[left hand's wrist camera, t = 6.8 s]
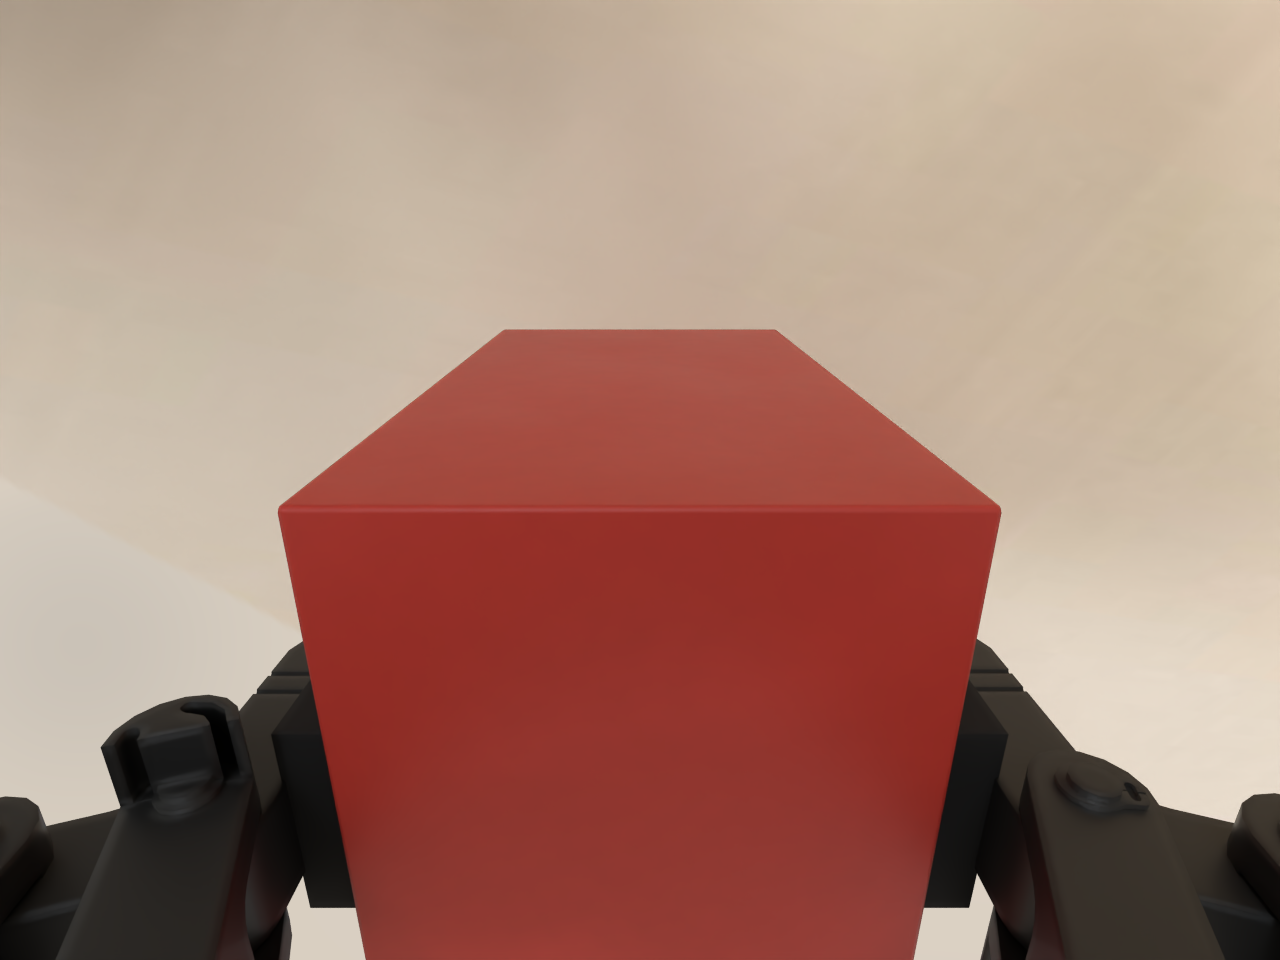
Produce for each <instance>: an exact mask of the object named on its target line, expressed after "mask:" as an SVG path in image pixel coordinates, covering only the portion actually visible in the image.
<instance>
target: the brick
mask: <svg viewBox="0 0 1280 960" xmlns="http://www.w3.org/2000/svg"><path fill="white" fill-rule="evenodd" d="M278 516H279V521H280V527H281V532H282V537H283V542H284V547H285V552H286V557H287V562H288V567H289V572H290V577H291V582H292V587H293V592H294V598H295V603H296V608H297V613H298V618H299V623H300V628H301V633H302V638H303V643H304V648H305V653H306V658H307V663H308V669H309V674H310V679H311V684H312V689H313V694H314V699H315V704H316V709H317V714H318V719H319V724H320V729H321V734H322V740H323V745H324V750H325V755H326V760H327V765H328V770H329V775H330V780H331V785H332V790H333V795H334V800H335V805H336V811H337V816H338V821H339V826H340V831H341V836H342V841H343V846H344V851H345V856H346V861H347V866H348V871H349V876H350V882H351V887H352V892H353V897H354V902H355V907H356V912H357V917H358V922H359V927H360V932H361V937H362V942H363V947H364V953H365V958H366V960H913V959H914V954H915V949H916V944H917V939H918V934H919V929H920V924H921V919H922V914H923V909H924V904H925V898H926V893H927V888H928V883H929V878H930V873H931V868H932V863H933V858H934V853H935V848H936V843H937V837H938V832H939V827H940V822H941V817H942V812H943V807H944V802H945V797H946V792H947V787H948V782H949V776H950V771H951V766H952V761H953V756H954V751H955V746H956V741H957V736H958V731H959V726H960V721H961V715H962V710H963V705H964V700H965V695H966V690H967V685H968V680H969V675H970V670H971V665H972V660H973V654H974V649H975V644H976V639H977V634H978V629H979V624H980V619H981V614H982V609H983V604H984V599H985V593H986V588H987V583H988V578H989V573H990V568H991V563H992V558H993V553H994V548H995V543H996V538H997V532H998V527H999V522H1000V517H1001V508H1000V506H999V505H997V504H996V503H995V502H994V501H992V500H991V499H990V498H989V497H987V496H986V495H985V494H983V493H982V492H981V491H980V490H978V489H977V488H976V487H975V486H973V485H972V484H971V483H970V482H968V481H967V480H966V479H964V478H963V477H962V476H961V475H959V474H958V473H957V472H956V471H954V470H953V469H952V468H950V467H949V466H948V465H947V464H945V463H944V462H943V461H942V460H940V459H939V458H938V457H936V456H935V455H934V454H933V453H931V452H930V451H929V450H928V449H926V448H925V447H924V446H923V445H921V444H920V443H919V442H917V441H916V440H915V439H914V438H912V437H911V436H910V435H909V434H907V433H906V432H905V431H903V430H902V429H901V428H900V427H898V426H897V425H896V424H895V423H893V422H892V421H891V420H889V419H888V418H887V417H886V416H884V415H883V414H882V413H881V412H879V411H878V410H877V409H875V408H874V407H873V406H872V405H870V404H869V403H868V402H867V401H865V400H864V399H863V398H862V397H860V396H859V395H858V394H856V393H855V392H854V391H853V390H851V389H850V388H849V387H848V386H846V385H845V384H844V383H842V382H841V381H840V380H839V379H837V378H836V377H835V376H834V375H832V374H831V373H830V372H828V371H827V370H826V369H825V368H823V367H822V366H821V365H820V364H818V363H817V362H816V361H814V360H813V359H812V358H811V357H809V356H808V355H807V354H806V353H804V352H803V351H802V350H801V349H799V348H798V347H797V346H795V345H794V344H793V343H792V342H790V341H789V340H788V339H787V338H785V337H784V336H783V335H781V334H780V333H779V332H778V331H776V330H503V331H502V332H501V333H499V334H498V335H497V336H496V337H494V338H493V339H492V340H490V341H489V342H488V343H487V344H485V345H484V346H483V347H482V348H480V349H479V350H478V351H476V352H475V353H474V354H473V355H471V356H470V357H469V358H468V359H466V360H465V361H464V362H462V363H461V364H460V365H459V366H457V367H456V368H455V369H454V370H452V371H451V372H450V373H448V374H447V375H446V376H445V377H443V378H442V379H441V380H440V381H438V382H437V383H436V384H434V385H433V386H432V387H431V388H429V389H428V390H427V391H426V392H424V393H423V394H422V395H420V396H419V397H418V398H417V399H415V400H414V401H413V402H412V403H410V404H409V405H408V406H406V407H405V408H404V409H403V410H401V411H400V412H399V413H398V414H396V415H395V416H394V417H392V418H391V419H390V420H389V421H387V422H386V423H385V424H384V425H382V426H381V427H380V428H378V429H377V430H376V431H375V432H373V433H372V434H371V435H370V436H368V437H367V438H366V439H364V440H363V441H362V442H361V443H359V444H358V445H357V446H356V447H354V448H353V449H352V450H350V451H349V452H348V453H347V454H345V455H344V456H343V457H342V458H340V459H339V460H338V461H336V462H335V463H334V464H333V465H331V466H330V467H329V468H328V469H326V470H325V471H324V472H322V473H321V474H320V475H319V476H317V477H316V478H315V479H314V480H312V481H311V482H310V483H308V484H307V485H306V486H305V487H303V488H302V489H301V490H300V491H298V492H297V493H296V494H294V495H293V496H292V497H291V498H289V499H288V500H287V501H286V502H284V503H283V504H282V505H280V506H279V509H278Z"/></svg>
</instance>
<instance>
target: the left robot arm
mask: <svg viewBox="0 0 1280 960" xmlns="http://www.w3.org/2000/svg"><path fill="white" fill-rule="evenodd" d="M101 750H102V753H103V756H104V759H105V762H106V765H107V768H108V771H109V774H110V777H111V780H112V783H113V786H114V789H115V792H116V795H117V798H118V801H119V803H120V806H121V807H120V809H117V810H113V811H110V812H106V813H102V814H98V815H93V816H89V817H85V818H80V819H76V820H71V821H67V822H63V823H58V824H54V825H50V826H46V825H45V822H44V820H43V817H42V814H41V812H40V809H39V807H38V806H37V805H36V804H34V803H33V802H32V801H30V800H29V799H27V798H19V797H1V798H0V960H289V958H290V949H291V940H292V932H291V925H290V919H289V915H288V911H287V906H288V904H289V902H290V900H291V898H292V896H293V894H294V892H295V890H296V888H297V886H298V884H299V882H300V880H301V878H302V876H303V877H304V882H305V886H306V891H307V895H308V899H309V904H310V907H311V908H356V907H355V902H354V897H353V892H352V887H351V882H350V876H349V871H348V866H347V861H346V856H345V851H344V846H343V841H342V836H341V831H340V826H339V821H338V816H337V811H336V805H335V800H334V795H333V790H332V785H331V780H330V775H329V770H328V765H327V760H326V755H325V750H324V745H323V740H322V734H321V729H320V724H319V719H318V714H317V709H316V704H315V699H314V694H313V689H312V684H311V679H310V674H309V669H308V663H307V658H306V653H305V648H304V643H303V642H301V643H300V644H298V645H297V646H295V647H293V648H292V649H290V650H289V651H288V652H287V654H286V655H285V656H284V657H283V658H282V660H281V661H280V662H279V663H278V665H277V666H276V667H275V668H274V669H273V671H272V674H271V676H268V677H267V678H266V679H265V680H264V682H263V683H262V684H261V685H260V686H259V688H258V689H257V694H253V695H252V696H251V698H250V699H249V700H248V701H247V702H246V704H245V705H244V706H243V707H242V708H241V710H240V711H239V710H238V707H237V706H236V705H235V704H234V703H233V702H231V701H230V700H229V699H228V698H224V697H218V696H213V695H201V696H191V697H184V698H180V699H177V700H173V701H170V702H166V703H162V704H159V705H157V706H155V707H153V708H151V709H149V710H147V711H144V712H142V713H140V714H138V715H136V716H134V717H133V718H131V719H130V720H129V721H127V722H126V723H124V724H123V725H122V726H120V727H119V728H117V729H116V730H115V731H113V733H112V734H111V735H110V736H109V738H108V739H107V740H106V741H105V743H104V744H103V745H102V746H101ZM977 874H978V876H979V878H980V880H981V882H982V883H983V885H984V887H985V889H986V891H987V893H988V895H989V897H990V899H991V901H992V903H993V905H994V906H993V911H992V915H991V919H990V923H989V927H988V931H987V935H986V939H985V943H984V947H983V951H982V955H981V960H1280V794H1276V793H1273V794H1259V795H1253V796H1251V797H1250V798H1249V799H1247V800H1246V801H1244V802H1243V803H1242V805H1241V807H1240V810H1239V812H1238V815H1237V818H1236V820H1235V823H1231V822H1226V821H1222V820H1218V819H1213V818H1209V817H1205V816H1200V815H1196V814H1191V813H1187V812H1183V811H1178V810H1174V809H1170V808H1167V807H1163V806H1160V805H1159V804H1158V803H1157V801H1156V800H1155V799H1154V797H1153V796H1152V794H1151V793H1150V791H1149V790H1148V789H1147V788H1146V787H1145V786H1144V785H1143V784H1141V783H1140V782H1139V781H1138V780H1137V779H1135V778H1134V777H1133V776H1132V775H1130V774H1129V773H1128V772H1126V771H1124V770H1122V769H1121V768H1119V767H1117V766H1115V765H1113V764H1111V763H1109V762H1108V761H1106V760H1104V759H1100V758H1097V757H1094V756H1091V755H1088V754H1085V753H1082V752H1077V751H1075V749H1074V748H1073V747H1072V746H1071V745H1070V743H1069V742H1068V741H1067V740H1066V739H1065V737H1064V736H1063V735H1062V734H1061V732H1060V731H1059V730H1058V729H1057V728H1056V726H1055V725H1054V724H1053V723H1052V722H1051V720H1050V719H1049V718H1048V717H1047V715H1046V714H1045V713H1044V712H1043V711H1042V709H1041V708H1040V707H1039V706H1038V705H1037V703H1036V702H1035V701H1034V700H1033V699H1032V697H1031V696H1030V695H1029V694H1028V692H1024V691H1023V686H1022V685H1021V684H1020V683H1019V682H1018V680H1017V679H1016V678H1015V677H1014V676H1013V674H1009V672H1008V668H1007V667H1006V666H1005V665H1004V663H1003V662H1002V661H1001V660H1000V659H999V657H998V656H997V655H996V654H995V652H994V651H993V650H992V649H991V648H990V647H988V646H987V645H985V644H984V643H982V642H981V641H979V640H978V639H976V644H975V649H974V654H973V660H972V665H971V670H970V675H969V680H968V685H967V690H966V695H965V700H964V705H963V710H962V715H961V721H960V726H959V731H958V736H957V741H956V746H955V751H954V756H953V761H952V766H951V771H950V776H949V782H948V787H947V792H946V797H945V802H944V807H943V812H942V817H941V822H940V827H939V832H938V837H937V843H936V848H935V853H934V858H933V863H932V868H931V873H930V878H929V883H928V888H927V893H926V898H925V904H924V908H969V906H970V901H971V897H972V893H973V888H974V884H975V879H976V875H977Z"/></svg>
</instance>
